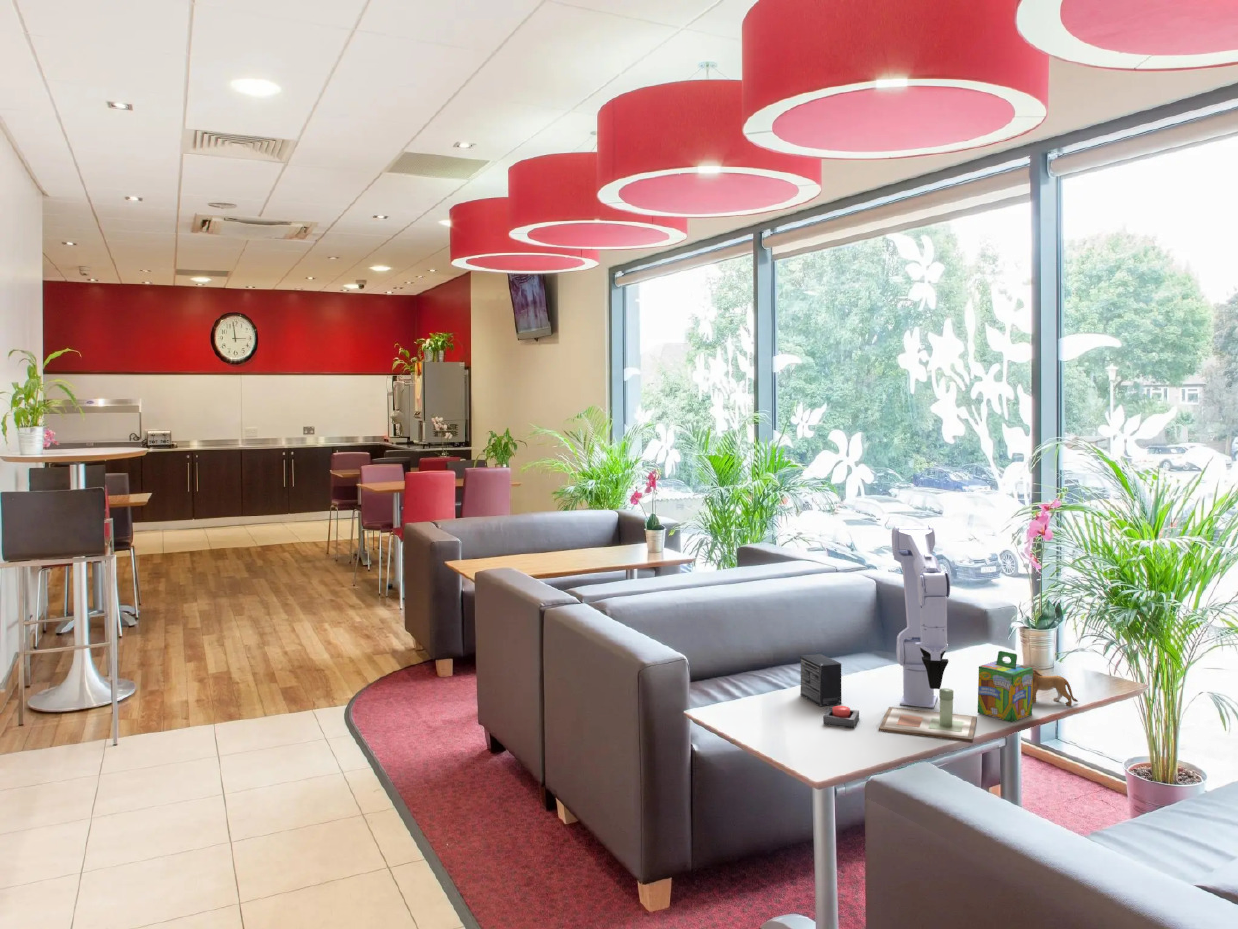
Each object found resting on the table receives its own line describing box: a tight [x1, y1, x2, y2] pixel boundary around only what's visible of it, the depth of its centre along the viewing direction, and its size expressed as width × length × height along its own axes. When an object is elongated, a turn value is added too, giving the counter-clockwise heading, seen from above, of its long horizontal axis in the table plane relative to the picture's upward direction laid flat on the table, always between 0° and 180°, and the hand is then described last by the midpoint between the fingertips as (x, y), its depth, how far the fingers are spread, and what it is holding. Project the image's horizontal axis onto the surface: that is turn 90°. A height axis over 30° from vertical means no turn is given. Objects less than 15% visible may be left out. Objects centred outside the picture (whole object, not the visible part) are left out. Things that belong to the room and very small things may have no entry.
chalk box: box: [977, 650, 1034, 723], centre depth 216 cm, size 9×9×15 cm
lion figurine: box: [1022, 664, 1079, 707], centre depth 225 cm, size 15×5×9 cm, turn 76°
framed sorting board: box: [878, 706, 977, 743], centre depth 211 cm, size 16×20×1 cm
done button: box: [832, 705, 851, 718], centre depth 214 cm, size 4×4×2 cm
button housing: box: [822, 707, 860, 729], centre depth 214 cm, size 7×7×2 cm
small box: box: [799, 653, 842, 707], centre depth 231 cm, size 11×6×10 cm, turn 18°
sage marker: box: [938, 687, 954, 727], centre depth 208 cm, size 3×3×8 cm
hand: (934, 683), depth 208 cm, fingers open, 7 cm apart
